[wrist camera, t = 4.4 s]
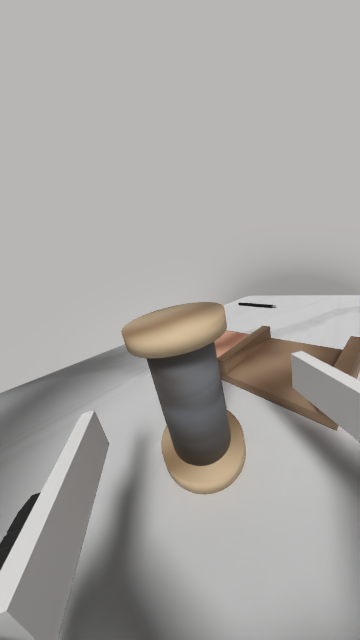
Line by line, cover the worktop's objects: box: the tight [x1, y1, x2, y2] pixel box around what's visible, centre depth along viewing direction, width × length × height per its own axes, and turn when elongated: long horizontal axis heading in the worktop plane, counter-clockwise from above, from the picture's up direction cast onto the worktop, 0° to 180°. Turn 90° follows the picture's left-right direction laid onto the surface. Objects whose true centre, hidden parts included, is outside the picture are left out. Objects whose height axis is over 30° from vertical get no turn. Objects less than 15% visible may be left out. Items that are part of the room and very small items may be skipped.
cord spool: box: [122, 302, 246, 494], centre depth 14 cm, size 7×7×12 cm
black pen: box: [239, 303, 277, 308], centre depth 51 cm, size 12×1×1 cm, turn 30°
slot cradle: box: [214, 326, 360, 431], centre depth 26 cm, size 23×12×3 cm, turn 39°
